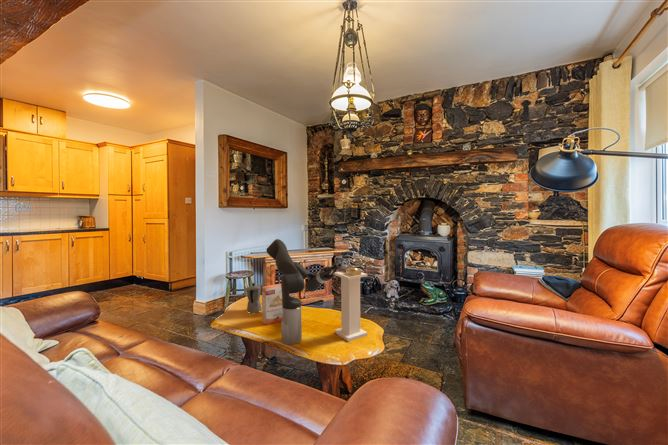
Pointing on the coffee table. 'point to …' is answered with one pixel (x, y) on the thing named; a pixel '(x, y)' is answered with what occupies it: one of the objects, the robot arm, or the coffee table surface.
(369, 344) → the coffee table surface
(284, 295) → the robot arm
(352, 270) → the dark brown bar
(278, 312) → the cracker box
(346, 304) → the white pillar
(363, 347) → the coffee table surface
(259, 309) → the coffeepot
